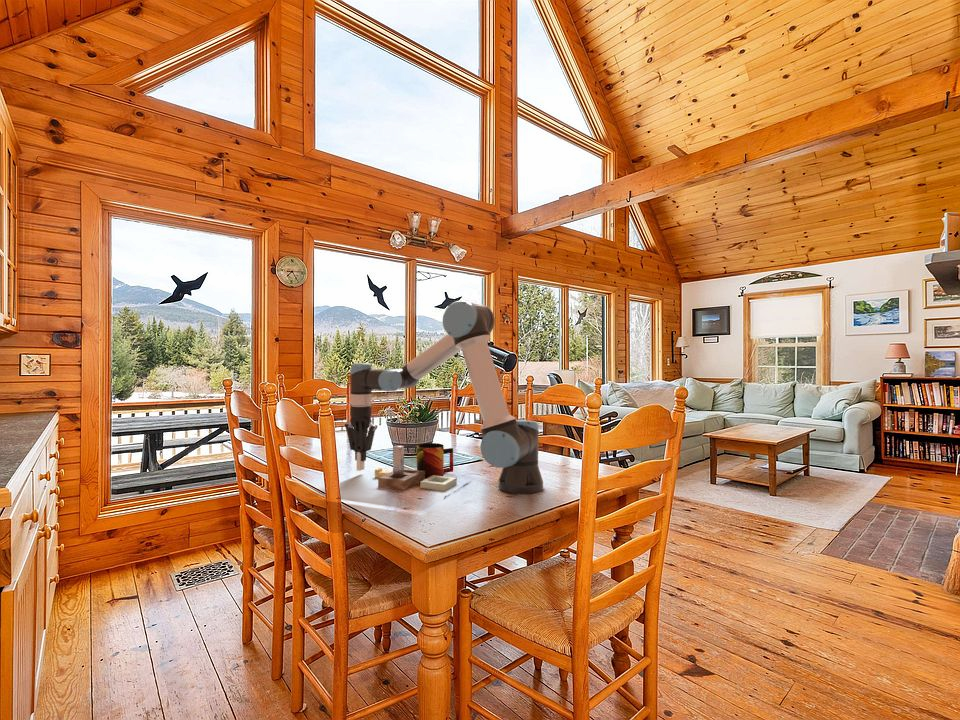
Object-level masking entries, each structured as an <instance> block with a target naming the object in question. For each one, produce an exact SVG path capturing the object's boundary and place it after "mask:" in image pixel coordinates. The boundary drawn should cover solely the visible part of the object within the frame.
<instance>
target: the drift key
mask: <svg viewBox="0 0 960 720" xmlns="http://www.w3.org/2000/svg"><path fill="white" fill-rule="evenodd" d="M390 472H391V471H390V470H389V471H388V470H383V467H382V468H380V467H379V468H376V469H374V478H377V479H378V477H381V476H383V475H386V474H388V473H390Z"/></svg>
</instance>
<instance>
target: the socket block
mask: <svg viewBox="0 0 960 720" xmlns="http://www.w3.org/2000/svg"><path fill="white" fill-rule="evenodd" d="M389 472H390V473H388V474H386V475H383V476H381V477H378V478H377V482H378V483H377V484H378V485H377V486H378V488H385V489H394V490H400V491H405V490H407V489H409V488H411V487H413V486H415V485H417V484H419V483H420V482H421V481H423V480H425V471H421V470H417V469H410V468H404V477H403V478H393V471H389Z"/></svg>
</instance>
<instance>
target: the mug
mask: <svg viewBox="0 0 960 720" xmlns="http://www.w3.org/2000/svg"><path fill="white" fill-rule="evenodd" d="M444 447H445V445H444V444H441V443H438V442H437V443H436V442H425V443H420V444H417V445H416V470H421V471H425V479H427V478H429V477H431V476H433V475H436V476H444V474H448V473H452V472H454V448H453V447H450V448H444ZM446 454H449V467H444V465H445V464H444V462H445V461H444V455H446Z"/></svg>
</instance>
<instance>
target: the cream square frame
mask: <svg viewBox="0 0 960 720" xmlns="http://www.w3.org/2000/svg"><path fill="white" fill-rule="evenodd" d="M457 482H458V480H457V477H452V476H436V475H433V476H431V477H429V478H427V479H425V480H423V481H421V482H419V483H420V488H421V489H426V490H428V489H429V490H434V491H435V490H436V491H443V492H444V491H447V490H448V489H450V488H452V487H454V486H455V485H457Z"/></svg>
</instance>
